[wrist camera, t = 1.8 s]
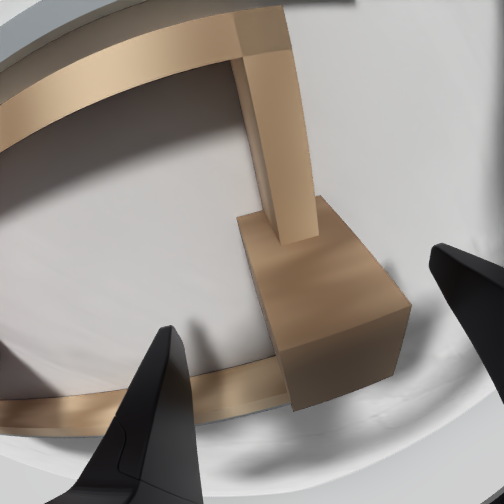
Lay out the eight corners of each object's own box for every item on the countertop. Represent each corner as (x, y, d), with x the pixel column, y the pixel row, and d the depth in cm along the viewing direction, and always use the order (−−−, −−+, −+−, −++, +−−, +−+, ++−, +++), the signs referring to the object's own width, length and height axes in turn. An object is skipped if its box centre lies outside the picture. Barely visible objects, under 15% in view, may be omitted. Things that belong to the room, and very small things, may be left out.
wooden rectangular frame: (291, 14, 7) (412, -25, 3) (330, 351, 17) (369, 440, 12) (-138, 255, 6) (-177, 313, 2) (-16, 408, 16) (-29, 466, 11)
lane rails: (342, -52, 6) (358, -62, 5) (364, 362, 19) (371, 375, 18) (-155, 230, 5) (-163, 239, 4) (-4, 423, 17) (-6, 434, 16)
